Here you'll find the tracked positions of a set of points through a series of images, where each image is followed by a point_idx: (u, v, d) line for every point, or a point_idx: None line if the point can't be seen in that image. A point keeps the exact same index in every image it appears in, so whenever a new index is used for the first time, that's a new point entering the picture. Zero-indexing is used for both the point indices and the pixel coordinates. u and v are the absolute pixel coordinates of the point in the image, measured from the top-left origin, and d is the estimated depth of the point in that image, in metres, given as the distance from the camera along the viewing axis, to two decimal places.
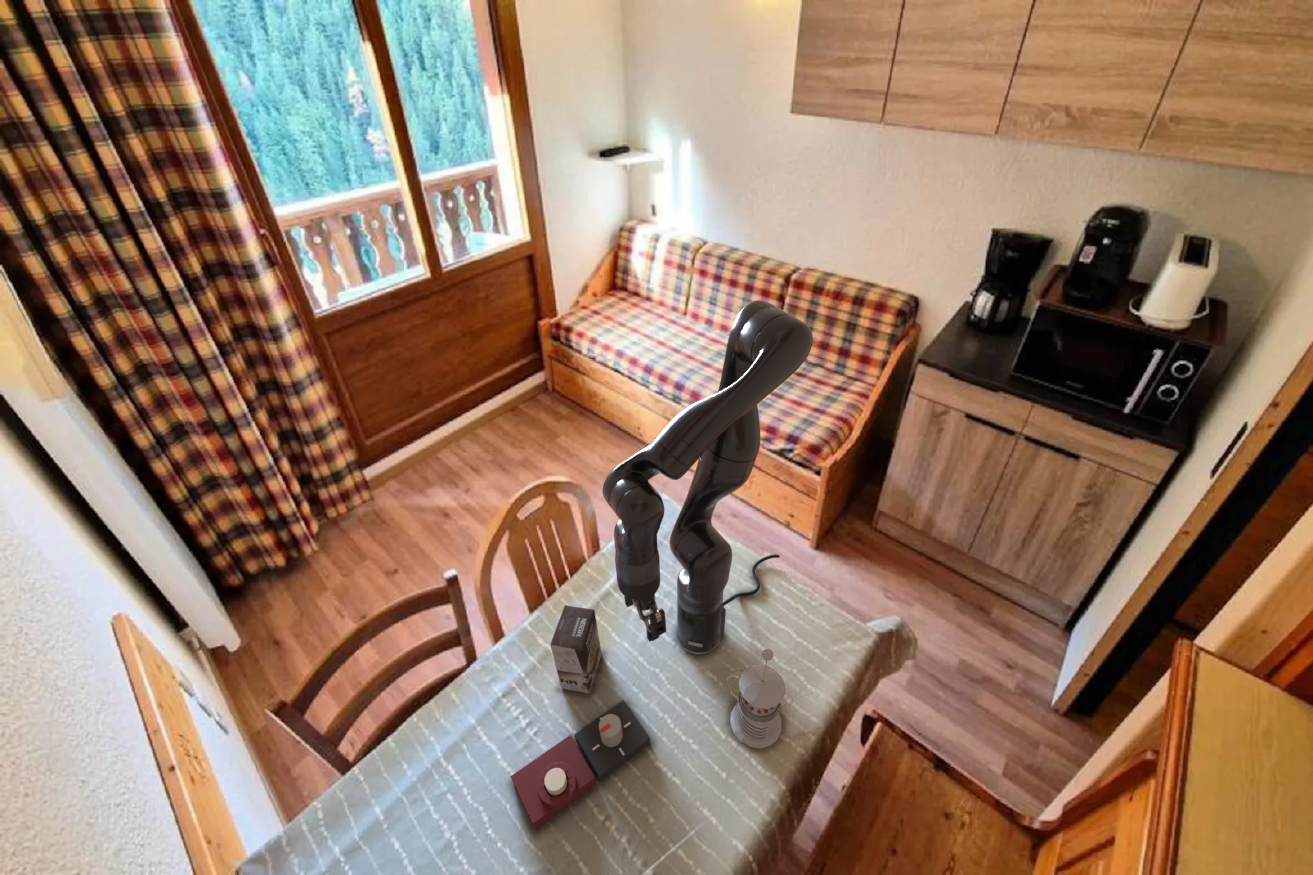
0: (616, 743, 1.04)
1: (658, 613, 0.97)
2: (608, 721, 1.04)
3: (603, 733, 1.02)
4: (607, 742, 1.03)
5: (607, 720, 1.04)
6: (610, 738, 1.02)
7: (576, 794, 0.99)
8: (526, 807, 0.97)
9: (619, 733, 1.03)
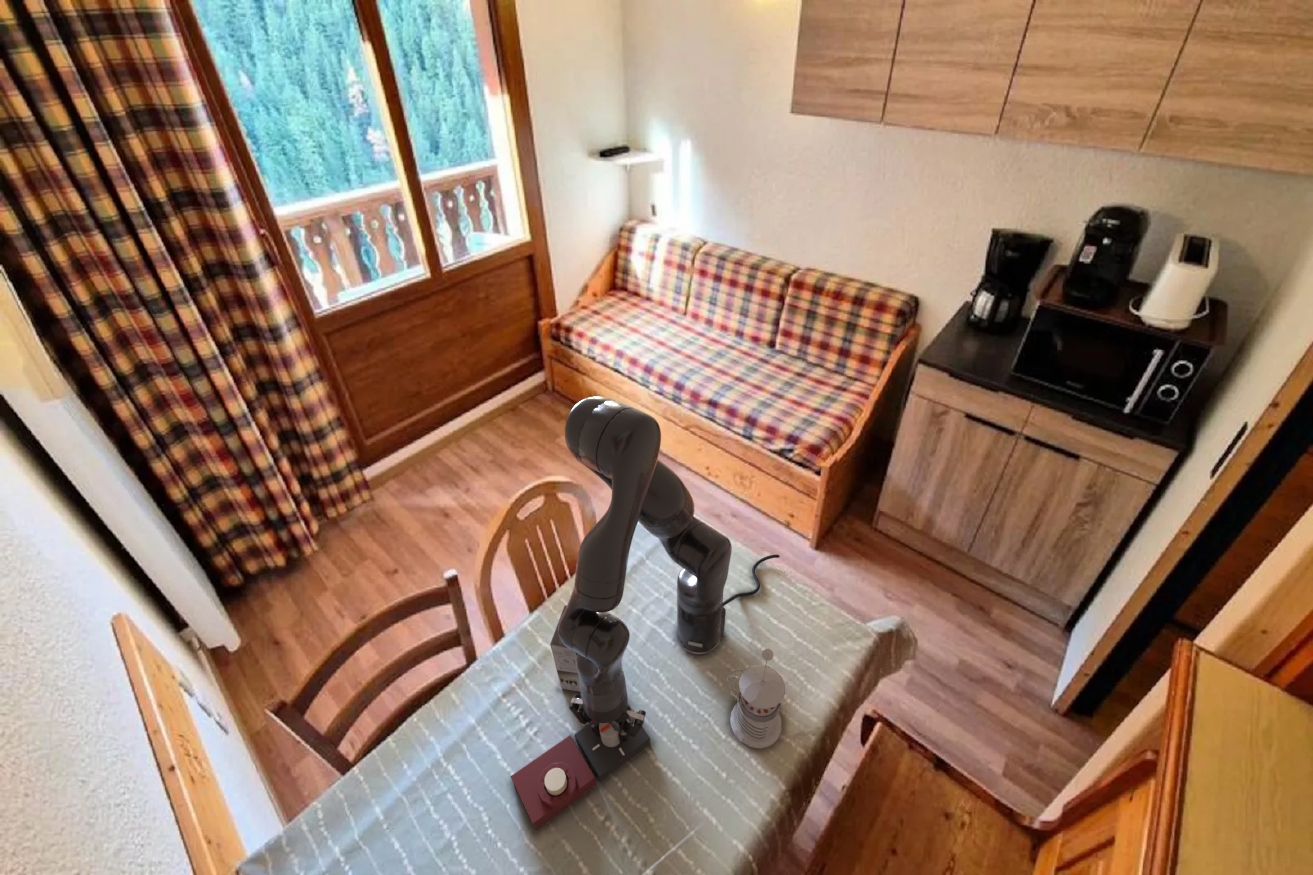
0: (616, 743, 1.04)
1: (643, 717, 0.98)
2: None
3: (603, 733, 1.02)
4: (607, 742, 1.03)
5: None
6: (610, 738, 1.02)
7: (576, 794, 0.99)
8: (526, 807, 0.97)
9: None
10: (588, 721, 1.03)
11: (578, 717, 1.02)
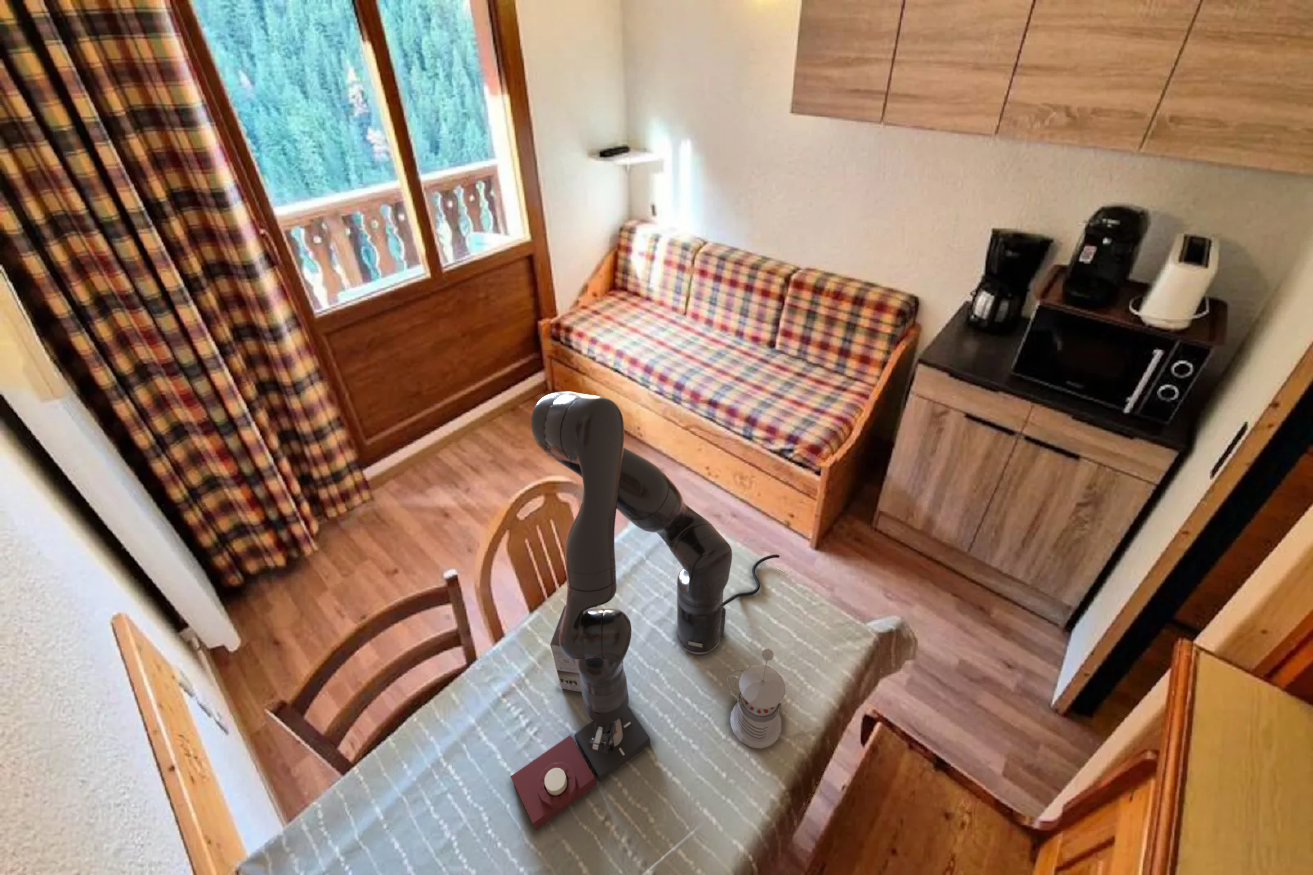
0: None
1: None
2: None
3: (617, 730, 1.02)
4: (621, 734, 1.05)
5: None
6: None
7: (576, 794, 0.99)
8: (526, 807, 0.97)
9: None
10: (607, 745, 1.00)
11: (606, 750, 0.97)
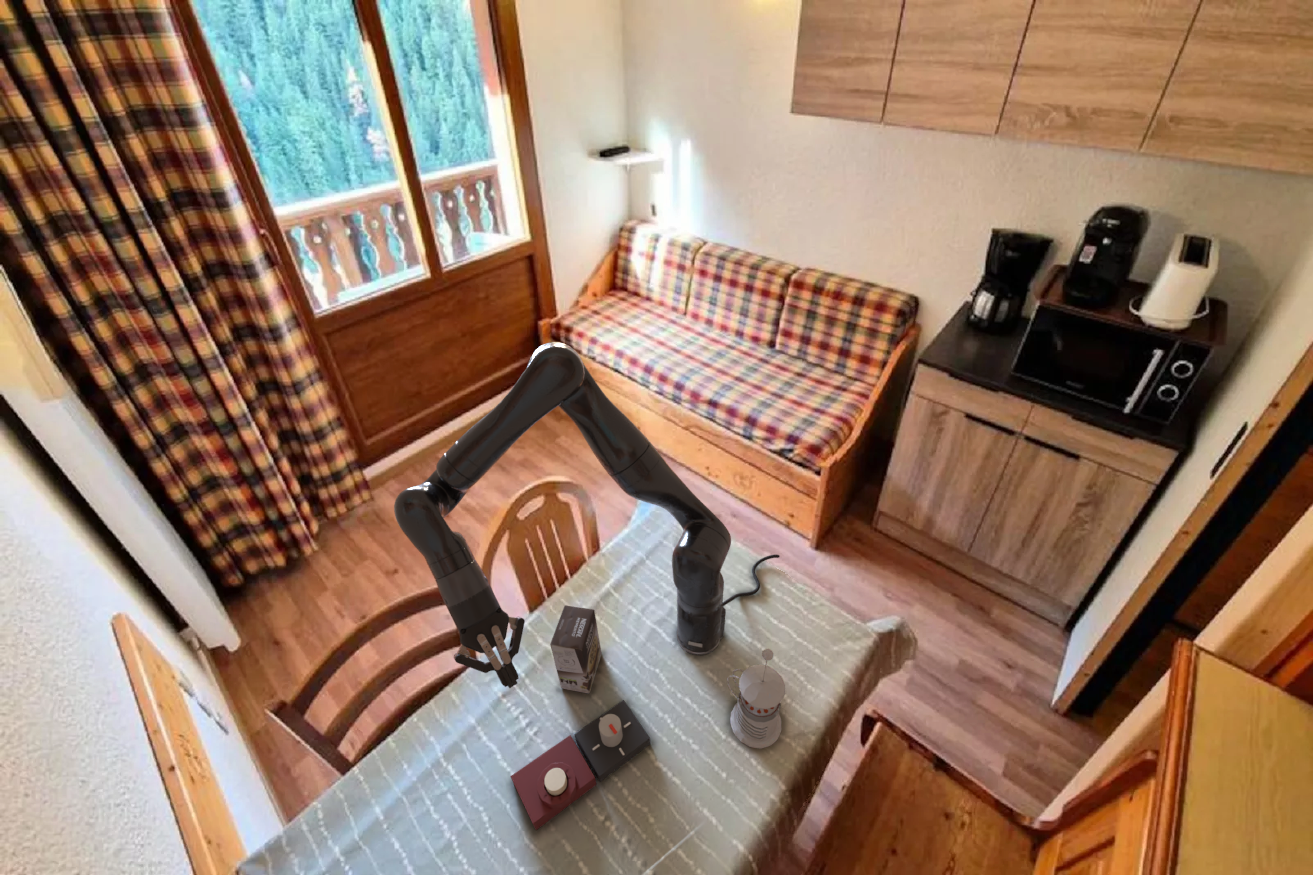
0: None
1: None
2: (606, 726, 1.03)
3: (617, 730, 1.02)
4: (621, 734, 1.05)
5: (605, 728, 1.03)
6: None
7: (576, 794, 0.99)
8: (526, 807, 0.97)
9: None
10: (491, 666, 0.95)
11: (476, 666, 0.94)
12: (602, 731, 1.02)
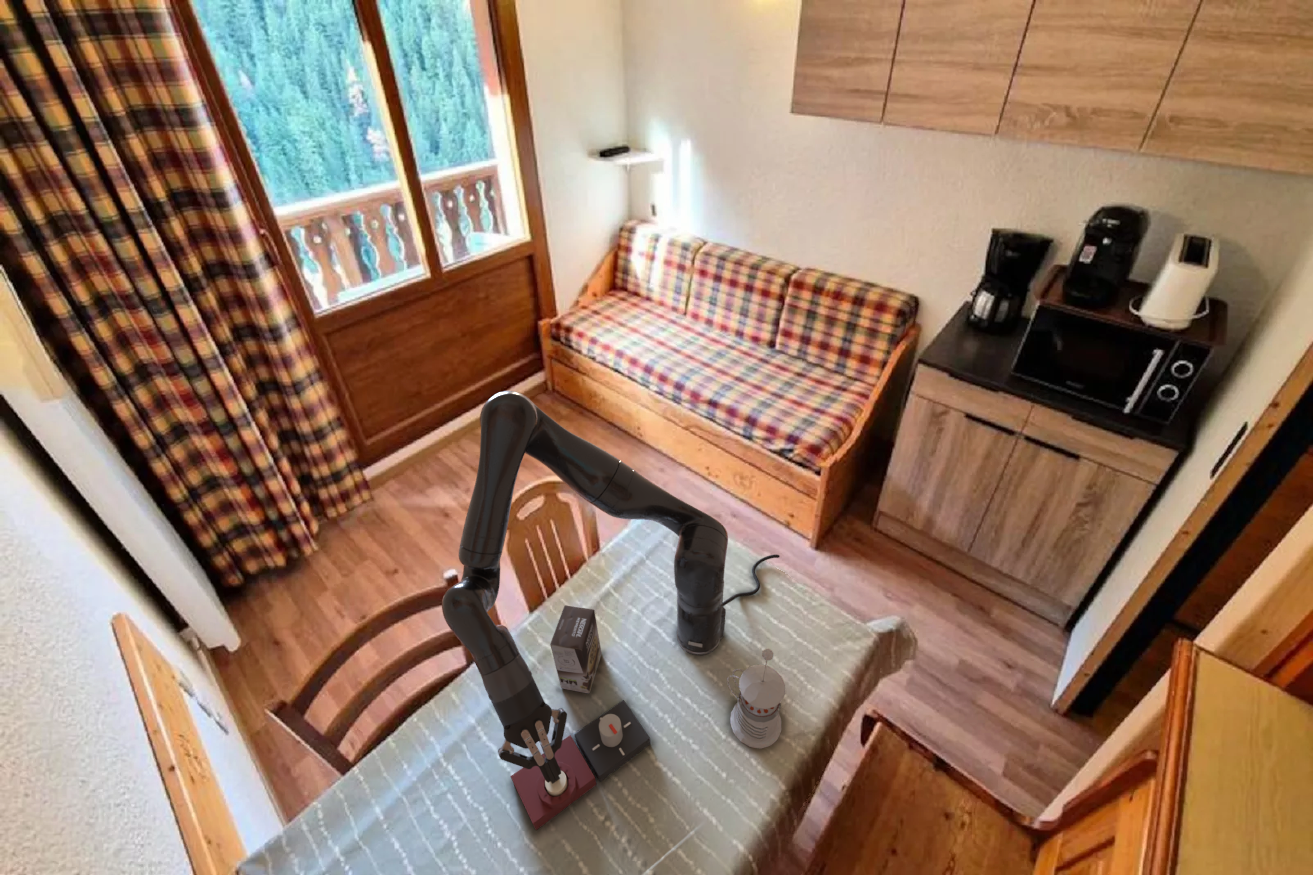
0: None
1: (563, 710, 1.00)
2: (606, 726, 1.03)
3: (617, 730, 1.02)
4: (621, 734, 1.05)
5: (605, 728, 1.03)
6: None
7: (576, 794, 0.99)
8: (526, 807, 0.97)
9: None
10: (534, 762, 0.96)
11: (520, 762, 0.94)
12: (602, 731, 1.02)
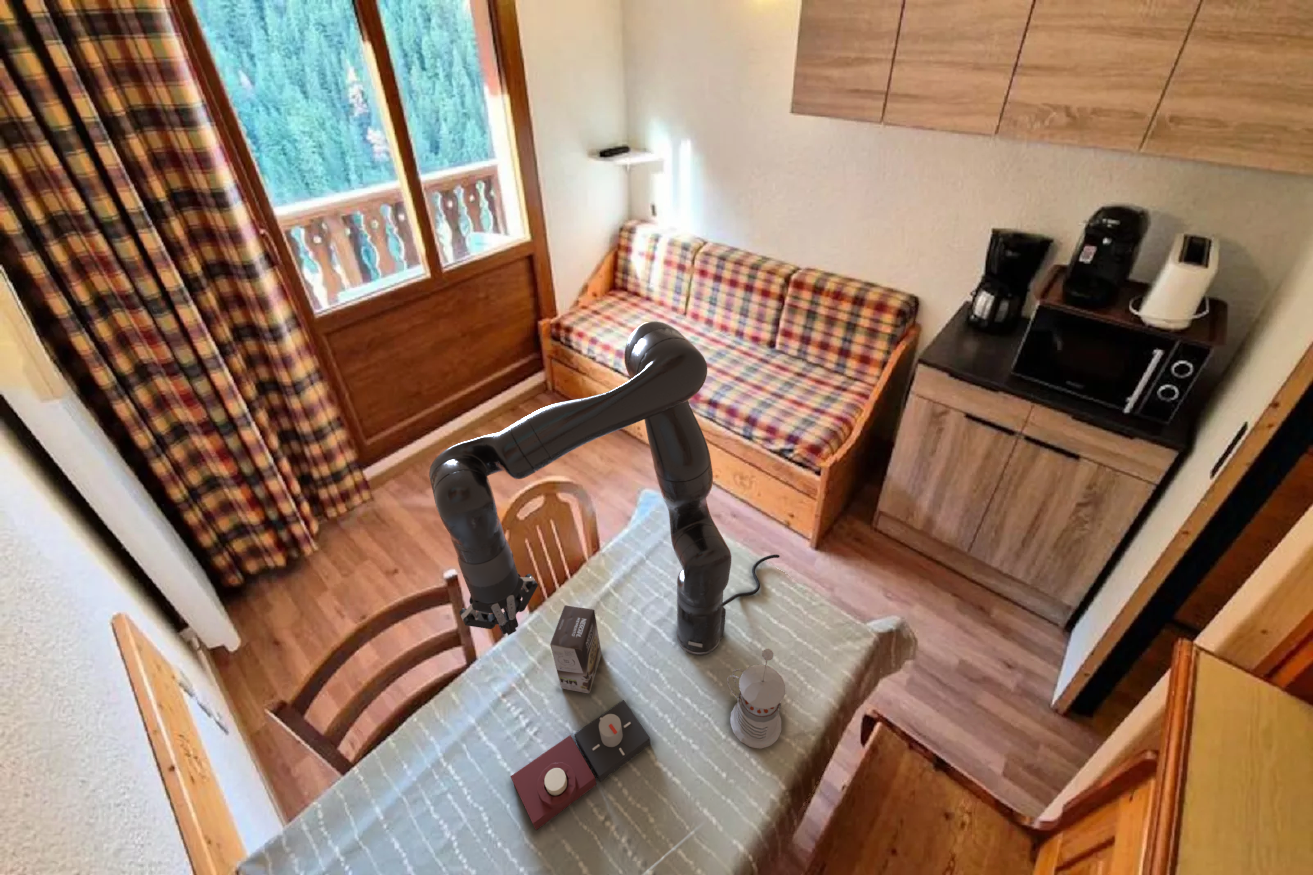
0: None
1: (533, 578, 0.93)
2: (606, 726, 1.03)
3: (617, 730, 1.02)
4: (621, 734, 1.05)
5: (605, 728, 1.03)
6: None
7: (576, 794, 0.99)
8: (526, 807, 0.97)
9: None
10: (495, 621, 0.92)
11: (483, 625, 0.90)
12: (602, 731, 1.02)
